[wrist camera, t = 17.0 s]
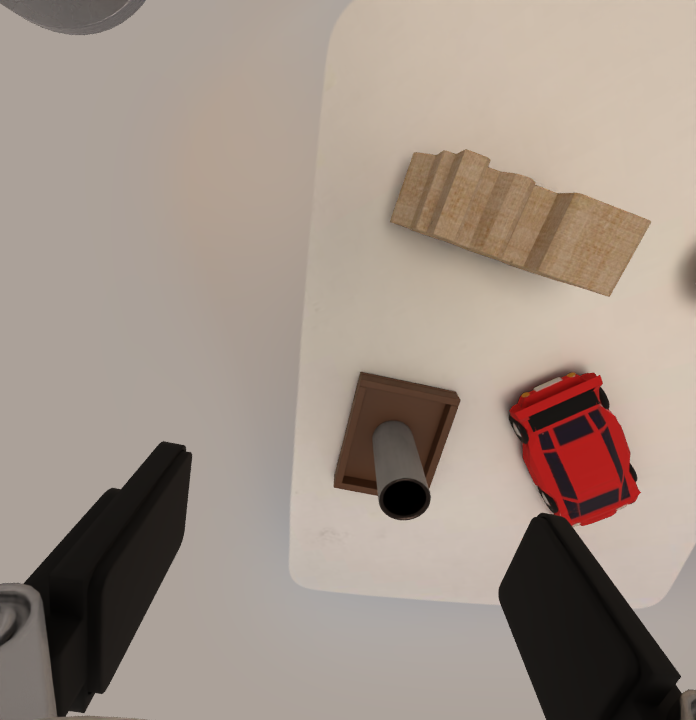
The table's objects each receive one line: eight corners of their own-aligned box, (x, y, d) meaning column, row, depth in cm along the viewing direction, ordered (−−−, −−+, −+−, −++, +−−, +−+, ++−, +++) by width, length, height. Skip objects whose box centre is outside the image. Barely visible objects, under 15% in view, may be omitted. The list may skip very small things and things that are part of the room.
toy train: (408, 158, 35) (430, 135, 25) (578, 222, 36) (658, 222, 27) (386, 221, 36) (400, 222, 27) (549, 279, 38) (615, 298, 29)
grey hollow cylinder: (377, 459, 45) (385, 525, 35) (367, 425, 43) (373, 484, 33) (416, 450, 44) (435, 515, 34) (407, 415, 43) (425, 473, 33)
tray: (360, 371, 42) (361, 379, 40) (455, 391, 42) (460, 399, 40) (334, 476, 46) (333, 487, 44) (420, 492, 47) (423, 504, 45)
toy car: (556, 525, 48) (578, 558, 44) (488, 401, 43) (505, 424, 38) (639, 488, 47) (672, 519, 42) (579, 353, 41) (610, 371, 36)
